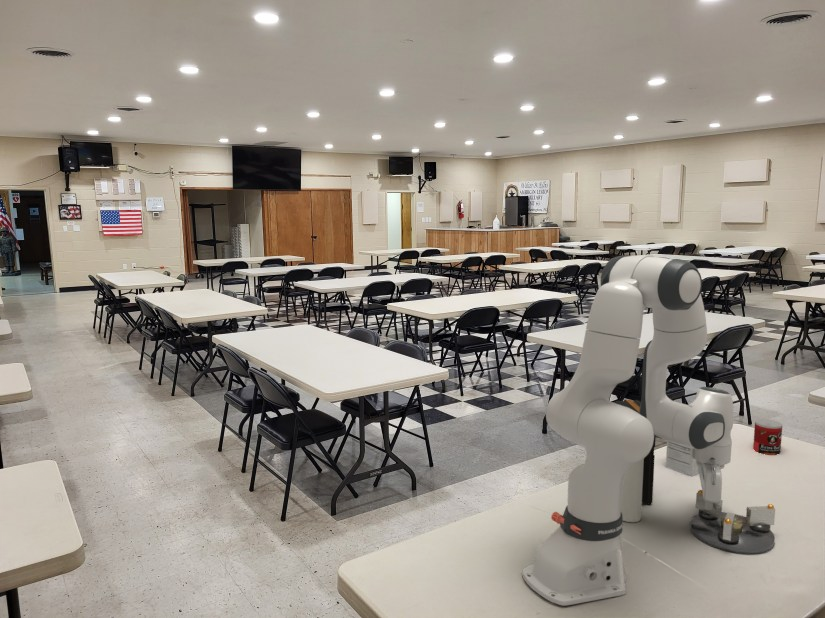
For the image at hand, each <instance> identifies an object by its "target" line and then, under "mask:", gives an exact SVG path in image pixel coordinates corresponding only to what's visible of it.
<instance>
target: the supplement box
mask: <svg viewBox="0 0 825 618" xmlns="http://www.w3.org/2000/svg"><path fill="white" fill-rule="evenodd" d="M665 456H666V458H665V460H666V461H665V468H667V469H669V470H672V471H675V472H676V473H677V472H678V473H680V474H682V475H686V476H688V477H695V476H697V475H698V476H699V472H698V465H697V464H696V460H695V459H693V458H692V457H691V448H690V447H687V446H684V445H681V444H677V443H674V442H671V441H668V440H666V455H665Z"/></svg>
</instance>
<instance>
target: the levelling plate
mask: <svg viewBox="0 0 825 618" xmlns="http://www.w3.org/2000/svg"><path fill="white" fill-rule="evenodd" d="M734 514H735V522H734V531H733V532H735V533H737V534H738V535H739V542H738V543H737V544H728V543H724V542H722V541H720V540H719V539H718V531H719V530H723V528H724V521H725V518H726V515H727V512H726V511H722V514H721V516H720V517H718V519H717V520H715V521H709V520H705V519H702V518H700V517H699V515H698V513H697V514H696V515H693V516H692V517H691V519H690V521H689V522H690V524H689V526H690V528H689V530H690V531H691V532H690V533H691V534H692V535H693V536H694V537H695V538H696V539H698V540H699V541H700V542H702V543H703V544H705V545H708V546H710V547H713V548H714V549H717V550H719V551H724V552H728V553H731V554H732V553H733V554H740V555H761V554H766V553H768V552H771V550H772V549H773V548H774V547H775V534H774V533H773V531H771V529H770V532H768V533H759V532H756V531H753V530H752V529H750V528H749V525H748V524H747V523H746V516H745V515H740V514H736V513H734Z"/></svg>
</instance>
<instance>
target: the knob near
mask: <svg viewBox="0 0 825 618" xmlns="http://www.w3.org/2000/svg"><path fill="white" fill-rule="evenodd" d="M726 513H727V515H726V518H725V521H724V528H723V530H719V531H718V539H719V540H720V541H722V542H724V543H728V544H737V543H738V542H739V535H738V534H737V533H735V532H733V531H734V522H735V514H736V513H734V512H733V513H732V512H729V511H728V512H726Z"/></svg>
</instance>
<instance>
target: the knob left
mask: <svg viewBox="0 0 825 618" xmlns="http://www.w3.org/2000/svg"><path fill="white" fill-rule="evenodd" d="M695 496H696V498H695V509H698V513H697V514H698V515H699V517H700V518H702V519H705V520H709V521H715V520H717V519H718V517H720V516H721V514H722V512H723V511H722V510H723V500H722V499H721V502H720V503H719V504H717V503H713V509H712V510H707V509H705V506H704V502H705V501H704V497H703V492H702V489H698V490H697V492H696V495H695Z"/></svg>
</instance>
